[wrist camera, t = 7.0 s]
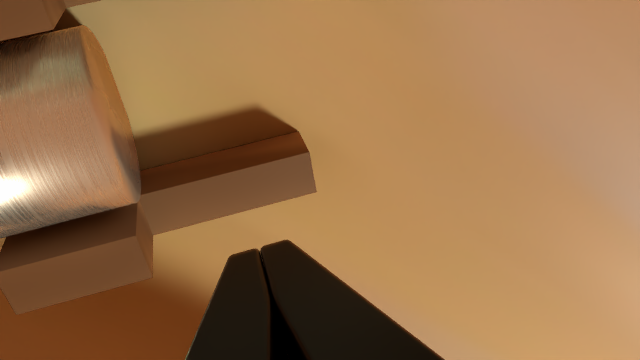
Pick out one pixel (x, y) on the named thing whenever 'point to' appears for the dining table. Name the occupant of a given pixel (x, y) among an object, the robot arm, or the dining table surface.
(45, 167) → the brown rounded bar
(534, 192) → the dining table surface
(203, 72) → the dining table surface
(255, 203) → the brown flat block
